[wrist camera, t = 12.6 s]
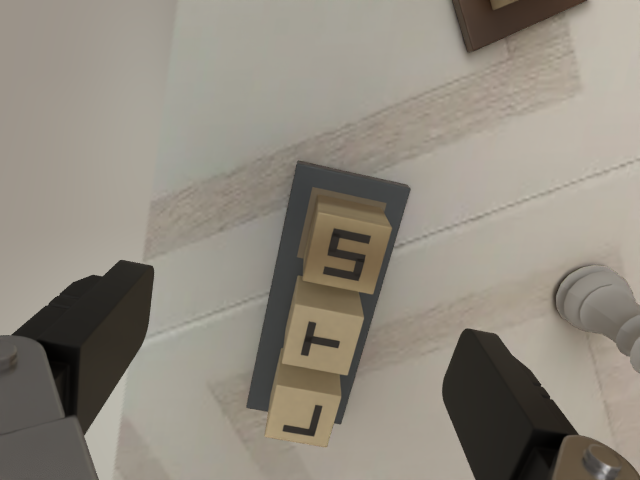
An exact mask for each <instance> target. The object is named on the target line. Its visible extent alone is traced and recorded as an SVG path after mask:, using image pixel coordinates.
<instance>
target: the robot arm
mask: <svg viewBox="0 0 640 480" xmlns="http://www.w3.org/2000/svg"><path fill="white" fill-rule="evenodd" d="M153 280H154V268H153V266H151V265H145V264H140V263H135V262H130V261H125V260H120V261H119V262H118V263H116V264H115V266H113V267H112V268H111V269H110V270H109V271H108V272H107V273H106V274H105V275H104V276H103V277H102V276H97V275H91V276H89V277H86V278H83V279H81V280H78V281H76V282H73V283H72V284H71V285H69V286H68V287H67V288H66V289H65V290H64V291H62V293H60V295H59V296H57V297H55V298H54V299H53V300H52V301H51V302H50V303H49V305H48V306H45V307H44V308H42V309H41V310H40V311H39V312H38V313H37V314H36V315H34V316H33V317H32V318H31V319H30V320H28V321H27V322H26V323H25V324H24V325H22V326H21V327H20V328H19V329H18V330H17V331H15V332H14V333H13V334H12V335H3V336H2V335H1V336H0V480H99V479H98V476H97V473H96V471H95V468H94V464H93V462H92V458H91V455H90V453H89V449H88V446H87V444H86V440H85V438H84V435H85V434H86V432H87V430H88V429H89V427H90V425H91V424H92V423H93V421H94V419H95V418H96V416H97V414H98V413H99V412H100V410H101V408H102V407H103V405H104V404H105V402H106V400H107V399H108V397H109V396H110V394H111V393H112V391H113V390H114V388H115V386H116V385H117V383H118V382H119V380H120V379H121V377H122V376H123V374H124V372H125V371H126V369H127V368H128V366H129V365H130V363H131V361H132V360H133V358H134V357H135V355H136V354H137V352H138V350H139V349H140V347H141V345H142V343H143V341H144V339H145V336H146V332H147V329H148V324H149V316H150V307H151V298H152V289H153ZM442 396H443V401H444V404H445V406H446V409H447V411H448V414H449V416H450V419H451V421H452V423H453V426H454V428H455V431H456V433H457V436H458V438H459V441H460V443H461V445H462V448H463V450H464V453H465V455H466V458H467V460H468V463H469V465H470V467H471V470H472V472H473V475H474V477H475V480H640V475H639V474H638V472H637V471H636V470H635V468H634V467H633V466H632V465H631V464H630V463H629V462H628V461H627V460H626V459H625V458H623V457H622V456H621V455H620V454H618V453H617V452H616V451H614V450H613V449H611V448H610V447H608V446H606V445H605V444H603V443H601V442H599V441H597V440H594V439H592V438H589V437H586V436H581V435H579V434H578V433H577V432H576V430H575V429H574V428H573V426H572V425H571V424H570V422H569V421H568V420H567V418H566V417H565V416H564V414H563V413H562V412H561V410H560V409H559V408H558V406H557V405H556V404H555V402H554V401H553V400H552V399H550V396H549V394H548V393H547V392H546V390H545V389H544V388H543V387H541V384H540V382H539V381H538V380H537V378H536V377H535V376H534V374H533V373H532V372H531V370H530V369H528V368H527V367H526V366H525V365H524V364H522V363H521V362H520V361H519V360H517V359H516V358H515V357H514V356H512V354H511V353H510V352H509V350H508V349H507V347H506V346H505V345H504V343H503V342H502V341H501V339H500V338H499V336H498V335H496V334H494V333H489V332H484V331H479V330H473V329H465V330H464V331H463V332H462V334H461V335H460V338H459V340H458V343H457V345H456V348H455V351H454V353H453V356H452V358H451V361H450V364H449V366H448V369H447V371H446V374H445V377H444V380H443V387H442Z"/></svg>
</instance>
